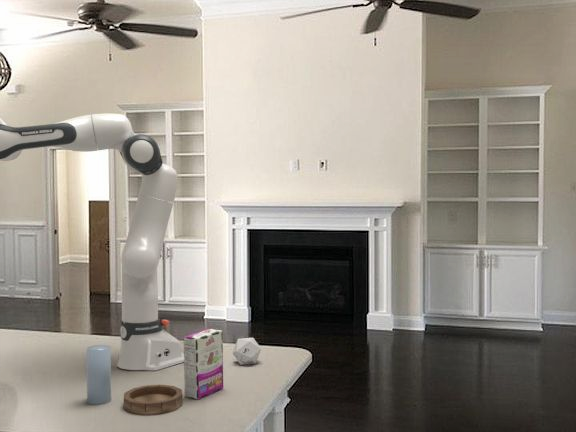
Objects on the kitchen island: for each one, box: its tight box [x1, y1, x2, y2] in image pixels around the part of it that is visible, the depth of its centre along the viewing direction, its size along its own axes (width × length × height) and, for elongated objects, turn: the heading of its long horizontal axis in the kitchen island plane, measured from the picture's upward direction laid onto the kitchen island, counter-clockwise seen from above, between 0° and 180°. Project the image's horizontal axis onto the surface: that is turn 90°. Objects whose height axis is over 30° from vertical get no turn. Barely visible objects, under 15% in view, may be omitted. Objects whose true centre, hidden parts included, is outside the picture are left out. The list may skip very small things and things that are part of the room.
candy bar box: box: [183, 328, 224, 400], centre depth 171 cm, size 11×5×16 cm, turn 148°
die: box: [232, 337, 262, 366], centre depth 201 cm, size 8×9×10 cm
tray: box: [123, 384, 184, 416], centre depth 162 cm, size 15×15×3 cm
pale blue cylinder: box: [86, 344, 112, 406], centre depth 165 cm, size 6×6×14 cm
